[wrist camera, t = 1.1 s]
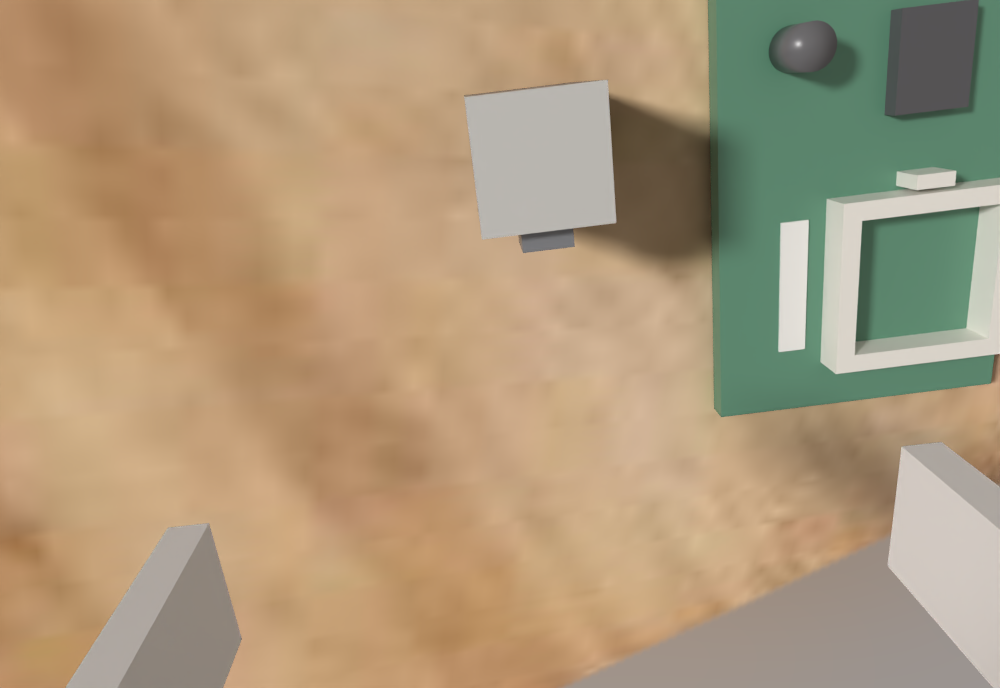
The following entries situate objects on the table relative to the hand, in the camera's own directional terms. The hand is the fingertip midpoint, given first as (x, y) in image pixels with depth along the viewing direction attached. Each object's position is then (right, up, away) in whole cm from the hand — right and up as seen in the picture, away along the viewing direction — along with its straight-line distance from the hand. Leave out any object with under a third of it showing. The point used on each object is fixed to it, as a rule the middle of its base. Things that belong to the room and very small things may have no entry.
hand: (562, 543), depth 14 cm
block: (0, +12, +17) cm, 21 cm away
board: (+15, +11, +18) cm, 26 cm away
